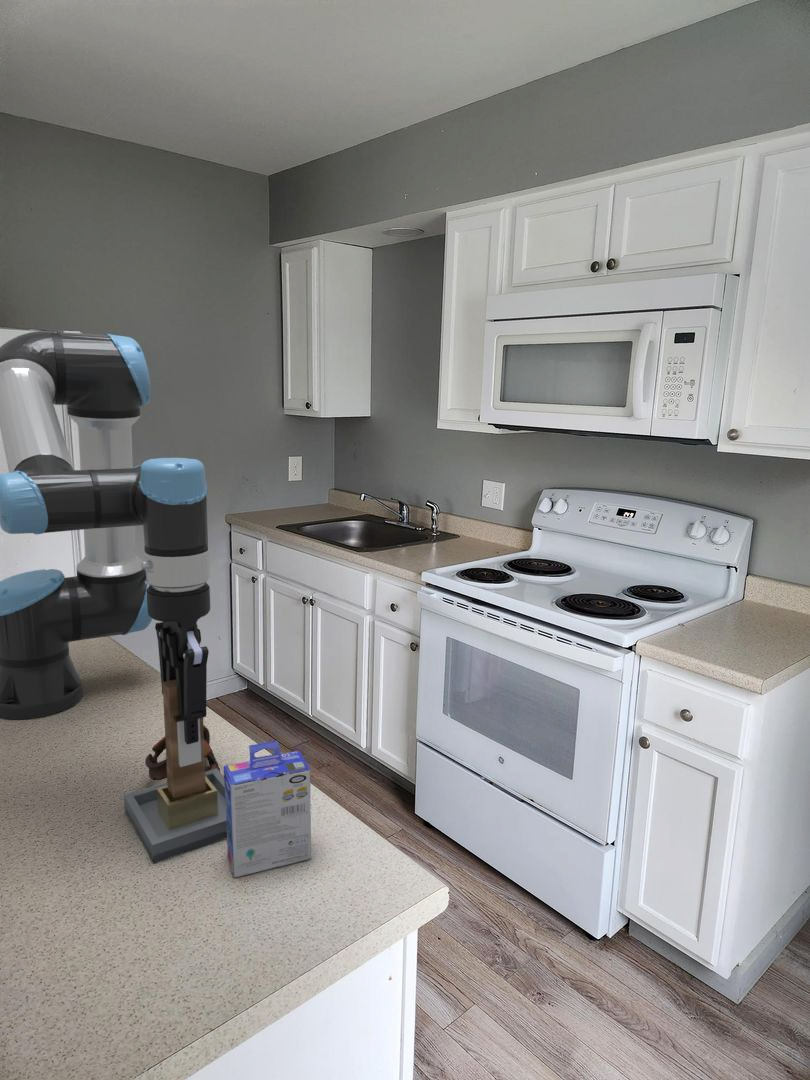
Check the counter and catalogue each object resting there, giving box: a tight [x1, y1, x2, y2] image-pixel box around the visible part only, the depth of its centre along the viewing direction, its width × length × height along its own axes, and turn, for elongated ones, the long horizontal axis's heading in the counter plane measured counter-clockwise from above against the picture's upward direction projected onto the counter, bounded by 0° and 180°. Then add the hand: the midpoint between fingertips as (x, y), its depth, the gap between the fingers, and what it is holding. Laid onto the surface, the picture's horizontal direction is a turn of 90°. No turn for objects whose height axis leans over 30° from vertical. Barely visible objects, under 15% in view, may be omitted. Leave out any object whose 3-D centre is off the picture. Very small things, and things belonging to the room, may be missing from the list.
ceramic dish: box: [123, 768, 227, 864], centre depth 97 cm, size 13×13×2 cm
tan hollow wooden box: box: [157, 776, 218, 830], centre depth 97 cm, size 5×6×4 cm
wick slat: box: [162, 679, 206, 798], centre depth 95 cm, size 3×4×15 cm, turn 125°
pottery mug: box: [144, 724, 222, 782], centre depth 108 cm, size 12×10×8 cm
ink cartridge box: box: [223, 740, 312, 878], centre depth 89 cm, size 10×6×14 cm, turn 114°
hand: (185, 757), depth 95 cm, fingers closed on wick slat, 3 cm apart
